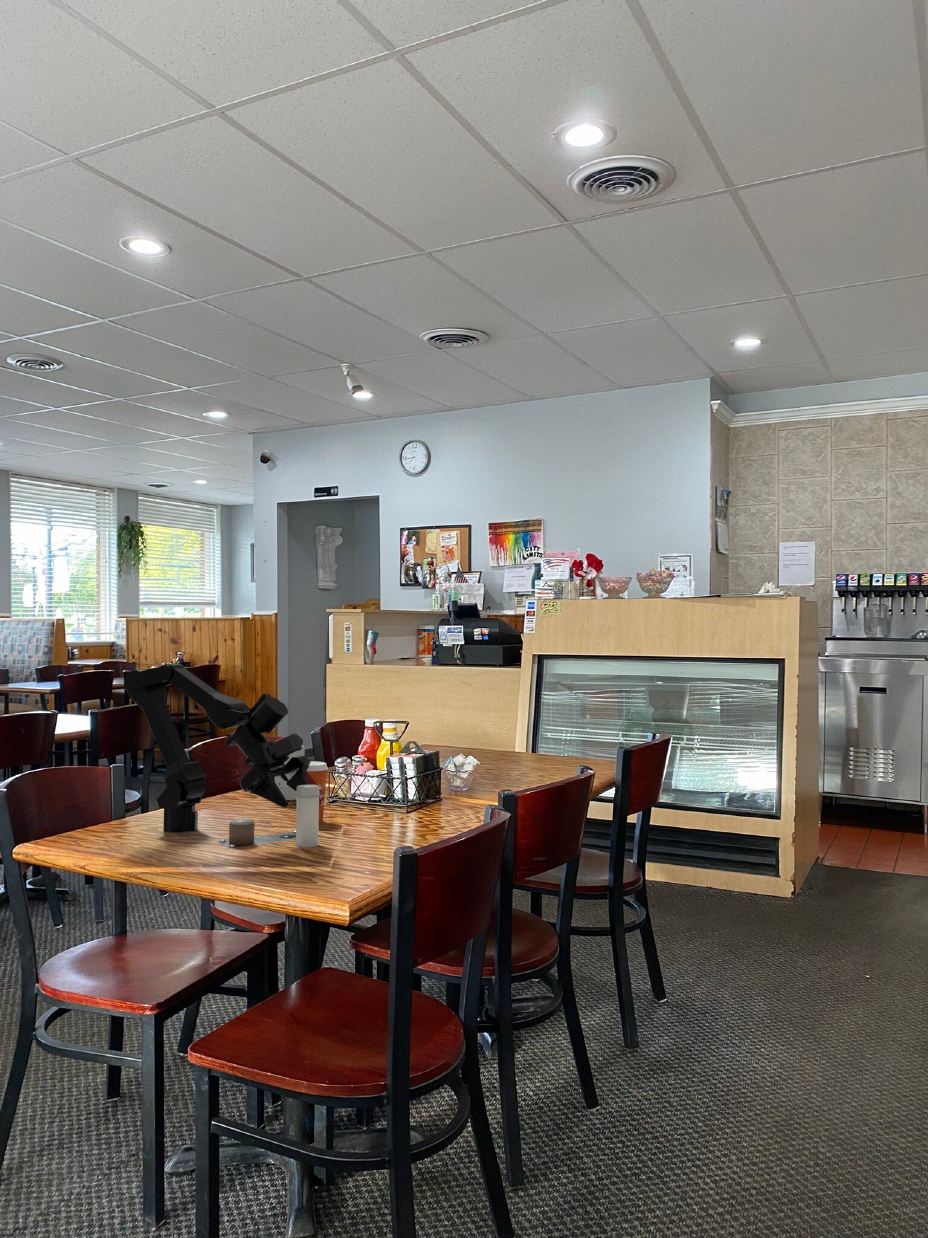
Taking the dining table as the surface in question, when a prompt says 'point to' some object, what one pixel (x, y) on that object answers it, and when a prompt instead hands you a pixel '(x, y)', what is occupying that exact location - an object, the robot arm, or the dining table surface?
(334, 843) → the dining table surface
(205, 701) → the robot arm
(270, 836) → the plate
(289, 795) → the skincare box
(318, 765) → the paper cup
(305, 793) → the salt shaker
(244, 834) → the grey short cylinder
